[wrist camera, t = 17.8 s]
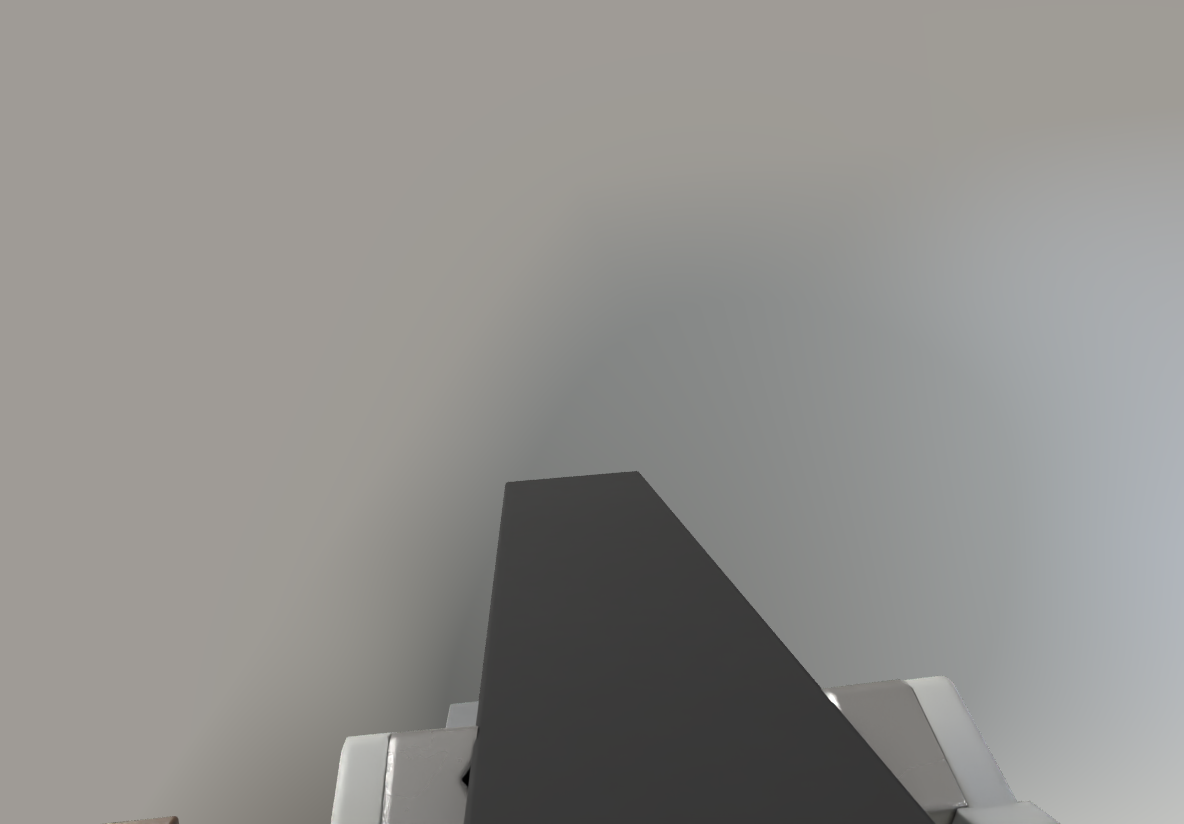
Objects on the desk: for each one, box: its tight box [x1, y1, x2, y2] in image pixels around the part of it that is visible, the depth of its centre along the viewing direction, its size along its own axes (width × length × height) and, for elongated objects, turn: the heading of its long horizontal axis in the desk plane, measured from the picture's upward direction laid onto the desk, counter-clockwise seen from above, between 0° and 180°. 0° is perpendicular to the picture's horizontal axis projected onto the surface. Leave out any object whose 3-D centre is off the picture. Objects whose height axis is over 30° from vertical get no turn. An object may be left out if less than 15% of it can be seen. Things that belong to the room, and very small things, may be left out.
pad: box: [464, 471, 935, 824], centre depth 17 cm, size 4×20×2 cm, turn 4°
